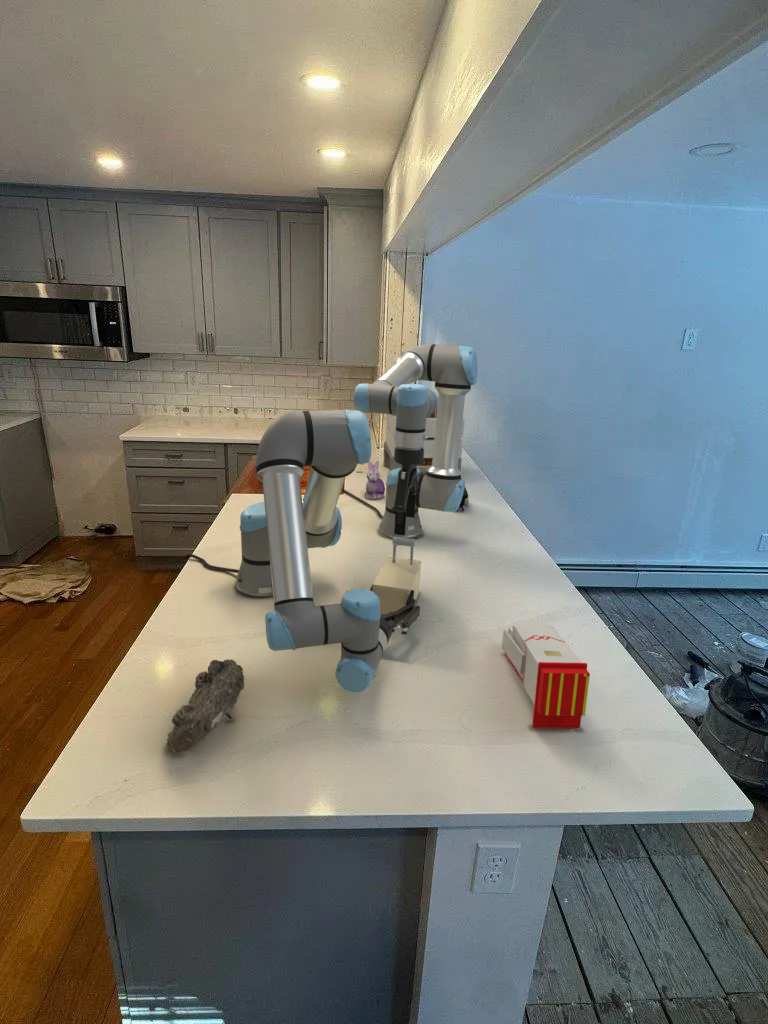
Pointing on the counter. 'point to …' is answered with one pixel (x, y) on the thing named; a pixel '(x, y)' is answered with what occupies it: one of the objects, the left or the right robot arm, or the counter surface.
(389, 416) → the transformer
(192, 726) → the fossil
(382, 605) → the chest
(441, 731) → the counter surface
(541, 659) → the toy
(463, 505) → the figurine character
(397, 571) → the lid
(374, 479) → the figurine
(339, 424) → the left robot arm
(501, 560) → the counter surface
